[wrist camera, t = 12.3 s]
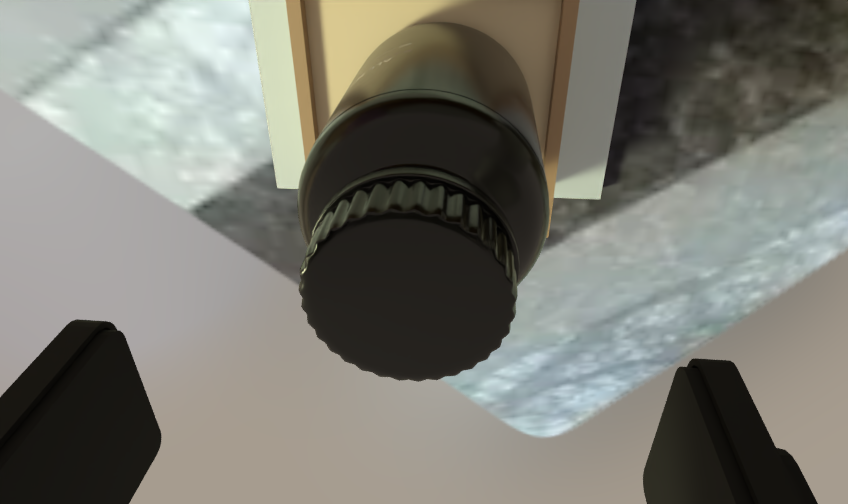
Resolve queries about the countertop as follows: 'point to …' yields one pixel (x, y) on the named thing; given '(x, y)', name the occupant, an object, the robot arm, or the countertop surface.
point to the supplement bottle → (423, 205)
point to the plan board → (578, 111)
